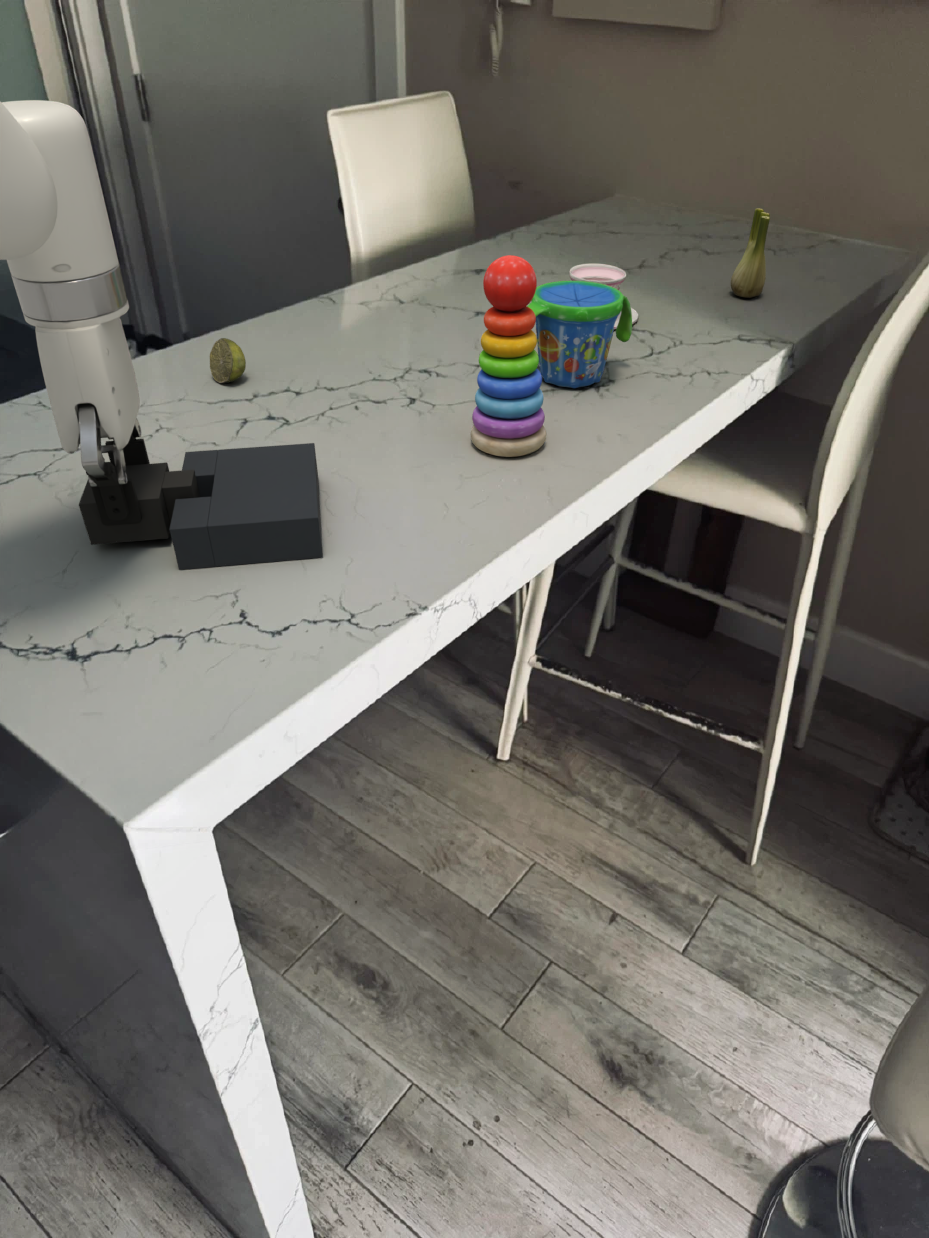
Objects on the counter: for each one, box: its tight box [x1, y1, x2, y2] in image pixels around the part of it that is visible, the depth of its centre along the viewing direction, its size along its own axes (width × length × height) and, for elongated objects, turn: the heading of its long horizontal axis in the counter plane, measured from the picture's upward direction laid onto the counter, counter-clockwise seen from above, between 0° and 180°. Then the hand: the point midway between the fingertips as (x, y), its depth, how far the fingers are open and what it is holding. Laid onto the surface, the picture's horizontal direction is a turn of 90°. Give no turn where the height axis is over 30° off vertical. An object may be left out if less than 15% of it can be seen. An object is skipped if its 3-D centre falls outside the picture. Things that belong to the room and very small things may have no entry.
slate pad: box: [169, 442, 324, 571], centre depth 78 cm, size 12×14×4 cm
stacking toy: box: [470, 254, 547, 458], centre depth 86 cm, size 8×8×19 cm
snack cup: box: [527, 280, 633, 389], centre depth 103 cm, size 16×10×10 cm
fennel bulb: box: [730, 207, 771, 298], centre depth 128 cm, size 6×5×12 cm
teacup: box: [568, 263, 639, 330], centre depth 122 cm, size 12×12×6 cm
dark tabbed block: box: [78, 462, 200, 546], centre depth 77 cm, size 9×6×4 cm
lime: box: [209, 337, 247, 384], centre depth 104 cm, size 4×5×5 cm
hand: (128, 499), depth 76 cm, fingers closed on dark tabbed block, 6 cm apart
